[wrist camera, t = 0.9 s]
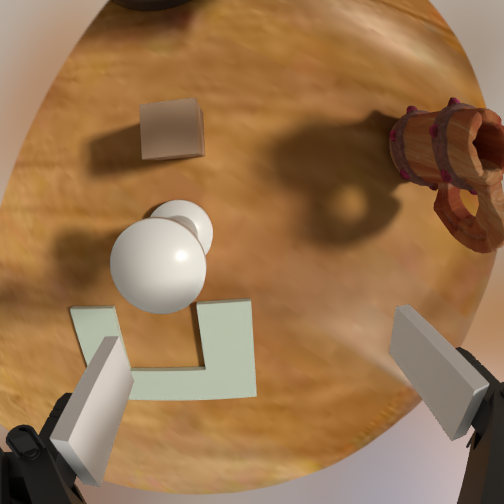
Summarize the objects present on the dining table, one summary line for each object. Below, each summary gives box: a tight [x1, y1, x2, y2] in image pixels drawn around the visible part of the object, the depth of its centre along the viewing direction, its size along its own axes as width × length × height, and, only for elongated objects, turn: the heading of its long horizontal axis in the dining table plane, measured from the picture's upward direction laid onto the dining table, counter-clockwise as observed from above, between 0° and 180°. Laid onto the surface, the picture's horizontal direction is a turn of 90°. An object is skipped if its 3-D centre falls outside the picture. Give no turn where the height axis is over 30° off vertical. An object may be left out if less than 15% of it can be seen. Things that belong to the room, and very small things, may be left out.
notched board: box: [70, 298, 257, 400], centre depth 37 cm, size 14×22×1 cm, turn 93°
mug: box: [389, 97, 504, 253], centre depth 26 cm, size 15×8×15 cm, turn 19°
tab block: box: [139, 98, 205, 160], centre depth 27 cm, size 4×4×8 cm
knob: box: [110, 199, 213, 314], centre depth 27 cm, size 7×7×12 cm
